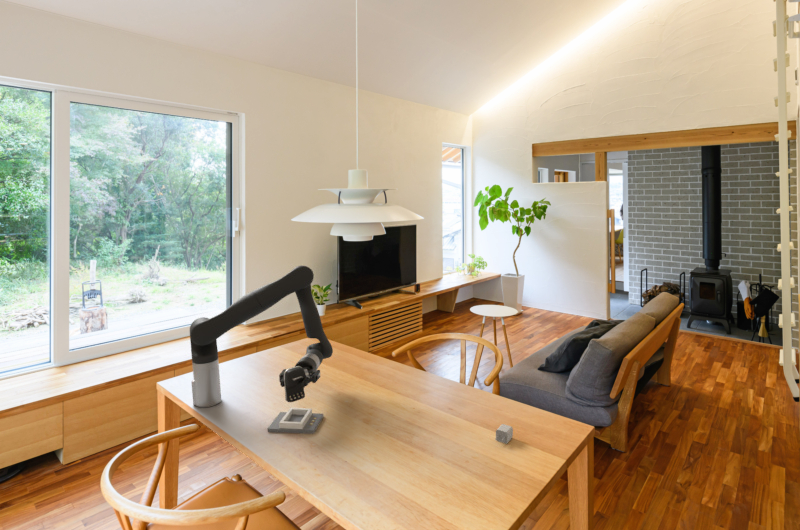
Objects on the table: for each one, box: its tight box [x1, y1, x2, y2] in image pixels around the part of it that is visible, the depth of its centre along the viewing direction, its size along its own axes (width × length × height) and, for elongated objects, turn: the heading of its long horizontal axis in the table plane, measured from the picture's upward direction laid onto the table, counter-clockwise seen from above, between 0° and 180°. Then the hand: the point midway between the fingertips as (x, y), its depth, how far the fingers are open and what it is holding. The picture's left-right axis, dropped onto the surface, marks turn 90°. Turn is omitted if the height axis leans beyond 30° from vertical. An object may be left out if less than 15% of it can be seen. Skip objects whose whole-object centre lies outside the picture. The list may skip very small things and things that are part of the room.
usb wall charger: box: [494, 424, 514, 444], centre depth 144 cm, size 4×7×4 cm, turn 145°
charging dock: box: [267, 407, 324, 435], centre depth 157 cm, size 16×12×3 cm
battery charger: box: [283, 366, 306, 403], centre depth 155 cm, size 7×4×11 cm, turn 131°
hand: (292, 384), depth 153 cm, fingers closed on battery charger, 7 cm apart
